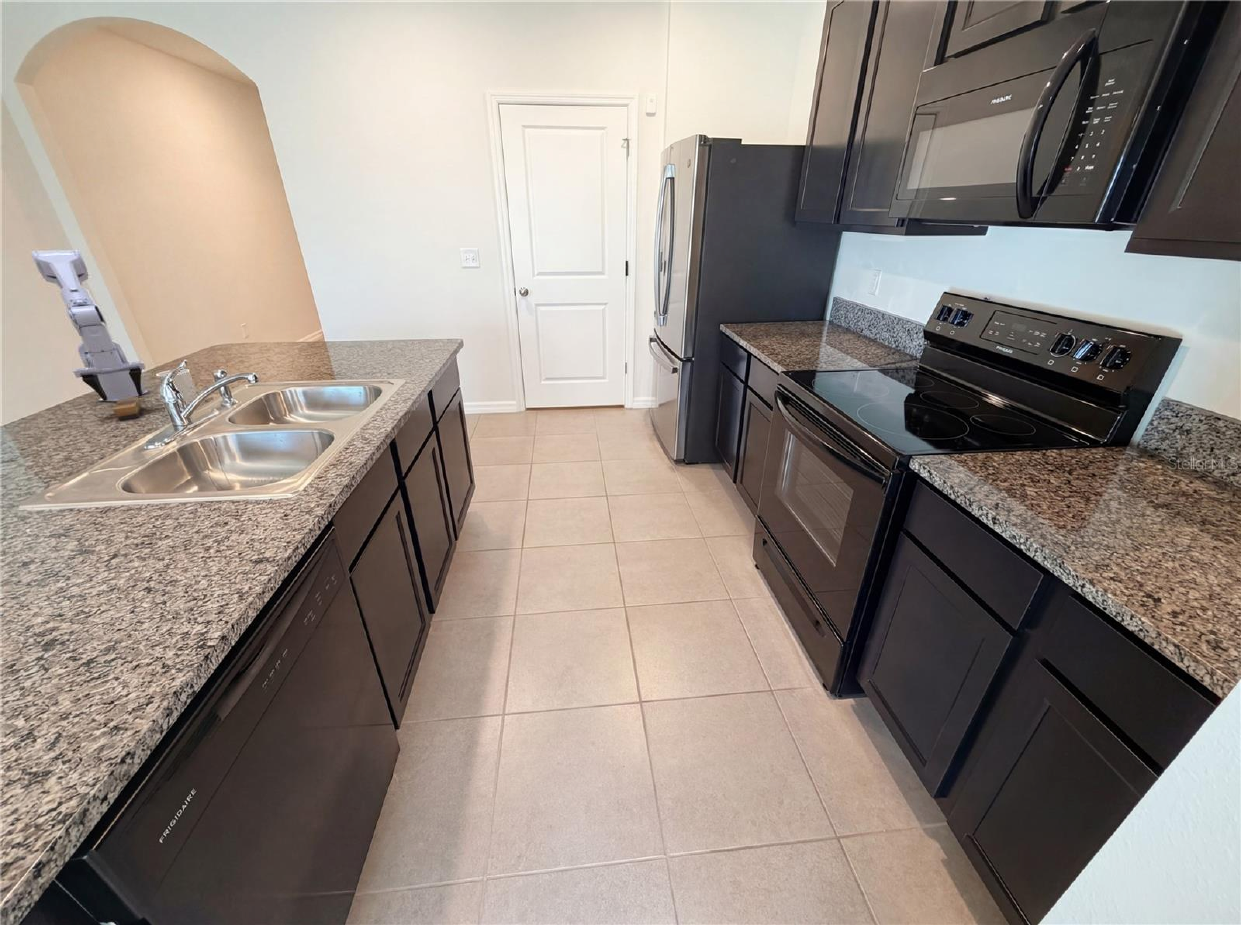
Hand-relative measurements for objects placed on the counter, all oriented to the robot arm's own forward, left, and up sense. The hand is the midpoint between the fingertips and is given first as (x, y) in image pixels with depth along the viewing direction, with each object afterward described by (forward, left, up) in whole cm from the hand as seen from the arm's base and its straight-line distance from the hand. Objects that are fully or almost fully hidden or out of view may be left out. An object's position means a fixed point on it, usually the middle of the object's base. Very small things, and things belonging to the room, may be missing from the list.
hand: (123, 397), depth 146 cm
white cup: (-10, +8, -6) cm, 14 cm away
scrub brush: (0, 0, -5) cm, 5 cm away
